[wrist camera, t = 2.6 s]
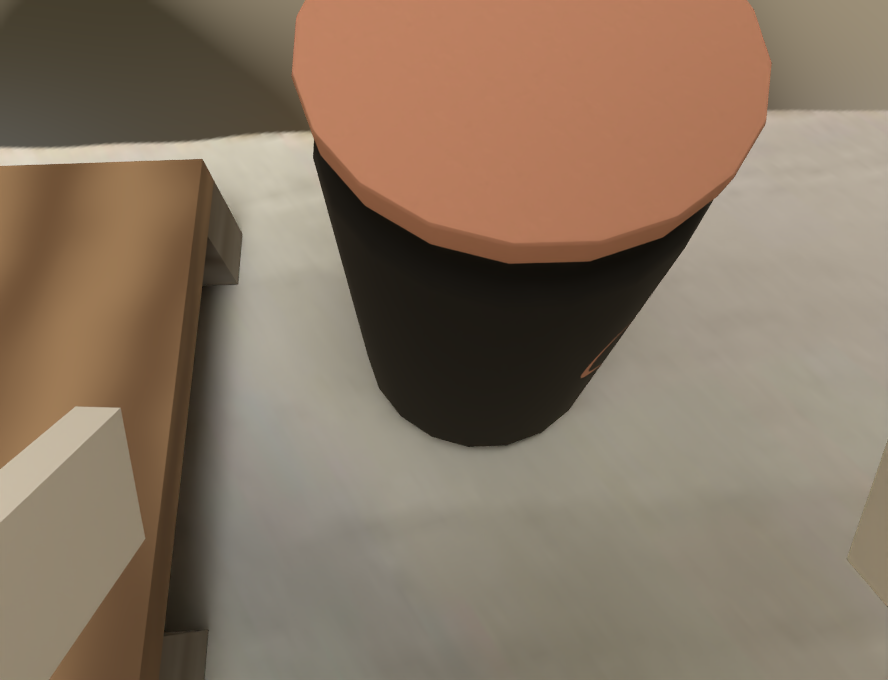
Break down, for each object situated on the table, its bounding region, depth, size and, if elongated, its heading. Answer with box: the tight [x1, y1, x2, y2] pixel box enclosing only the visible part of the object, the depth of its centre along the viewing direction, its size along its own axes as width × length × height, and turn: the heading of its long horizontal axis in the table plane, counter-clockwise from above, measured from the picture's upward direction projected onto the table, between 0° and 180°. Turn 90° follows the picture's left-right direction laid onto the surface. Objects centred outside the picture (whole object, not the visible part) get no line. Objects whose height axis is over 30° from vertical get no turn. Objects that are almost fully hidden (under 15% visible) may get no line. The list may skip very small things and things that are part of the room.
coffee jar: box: [292, 0, 772, 447], centre depth 22 cm, size 11×11×18 cm
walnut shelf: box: [0, 159, 242, 680], centre depth 25 cm, size 14×22×6 cm, turn 3°
